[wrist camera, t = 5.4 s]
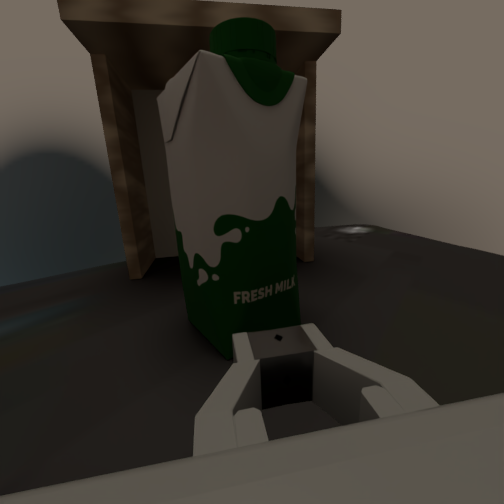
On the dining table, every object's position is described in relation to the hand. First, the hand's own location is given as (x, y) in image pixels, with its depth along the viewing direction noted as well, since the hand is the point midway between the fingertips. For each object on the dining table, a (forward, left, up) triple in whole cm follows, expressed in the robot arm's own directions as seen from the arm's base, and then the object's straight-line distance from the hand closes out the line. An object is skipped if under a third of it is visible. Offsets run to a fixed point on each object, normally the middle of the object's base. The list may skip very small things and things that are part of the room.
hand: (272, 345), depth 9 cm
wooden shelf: (0, +30, -6) cm, 30 cm away
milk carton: (0, +12, -6) cm, 13 cm away
